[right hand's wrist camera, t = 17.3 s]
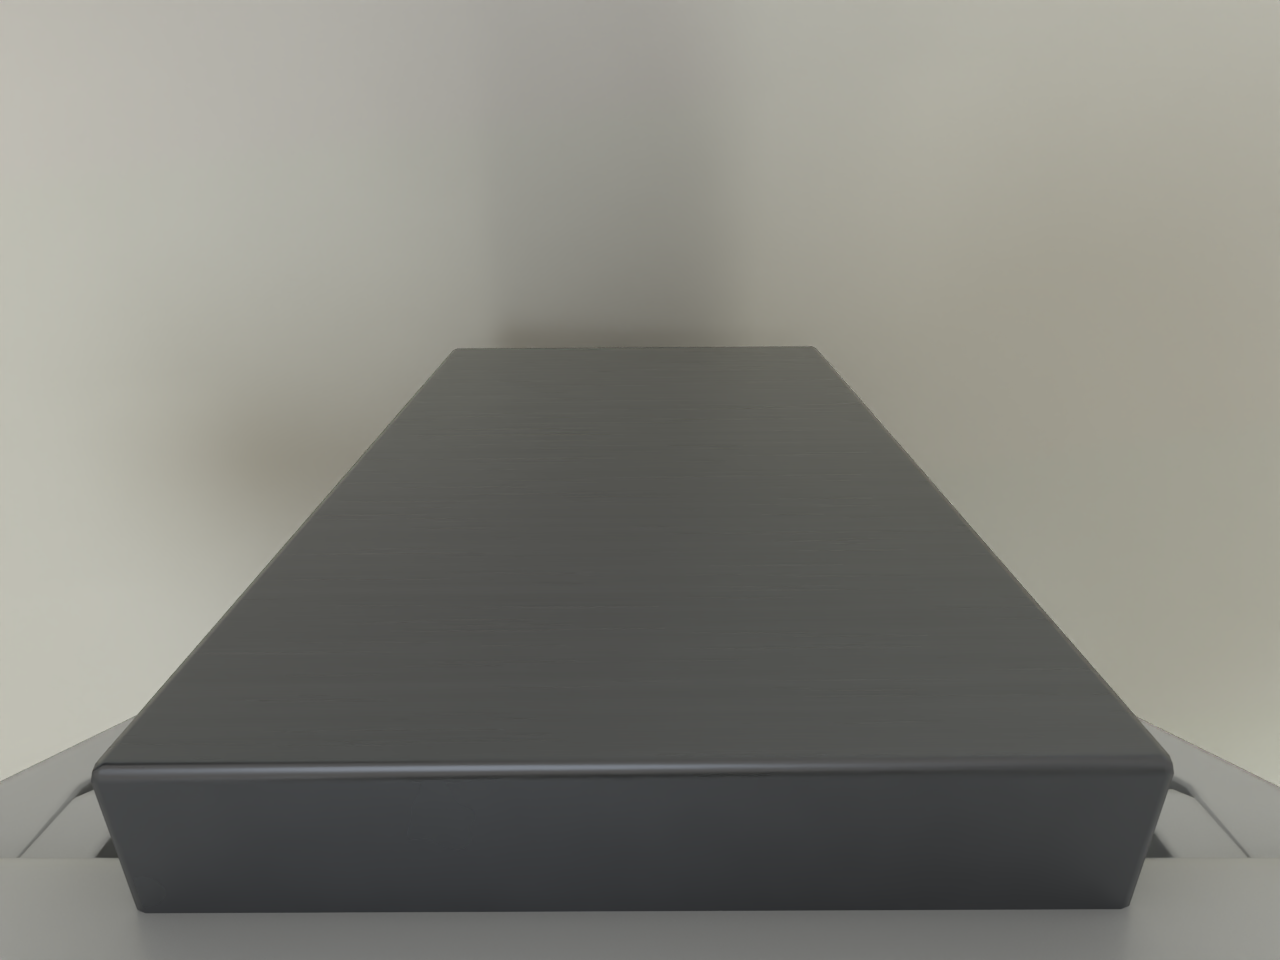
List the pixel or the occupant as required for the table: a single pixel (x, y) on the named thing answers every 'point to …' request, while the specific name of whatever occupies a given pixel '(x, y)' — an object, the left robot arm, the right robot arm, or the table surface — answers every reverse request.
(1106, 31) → the table surface
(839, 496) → the box
